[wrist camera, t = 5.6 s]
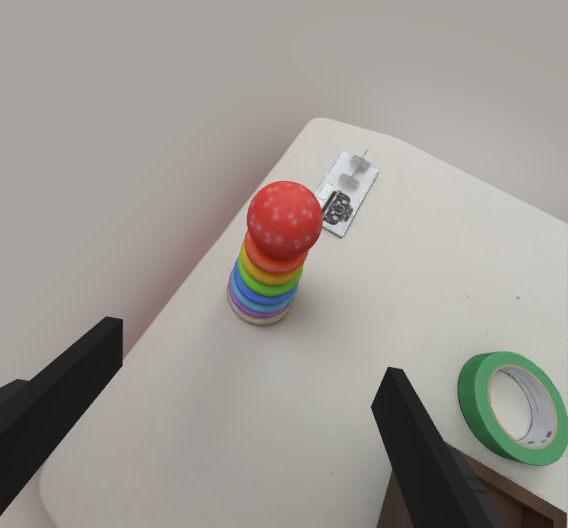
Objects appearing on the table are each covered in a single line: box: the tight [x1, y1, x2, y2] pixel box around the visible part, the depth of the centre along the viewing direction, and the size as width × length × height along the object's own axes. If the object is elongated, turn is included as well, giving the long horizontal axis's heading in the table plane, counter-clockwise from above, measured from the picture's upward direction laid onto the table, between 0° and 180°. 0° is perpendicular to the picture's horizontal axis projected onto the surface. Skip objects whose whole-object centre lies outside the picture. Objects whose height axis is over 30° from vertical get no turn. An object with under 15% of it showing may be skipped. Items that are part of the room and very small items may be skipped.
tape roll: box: [458, 352, 568, 466], centre depth 30 cm, size 11×11×3 cm
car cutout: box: [314, 151, 379, 238], centre depth 39 cm, size 15×7×4 cm, turn 150°
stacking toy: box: [227, 181, 323, 325], centre depth 24 cm, size 8×8×19 cm
